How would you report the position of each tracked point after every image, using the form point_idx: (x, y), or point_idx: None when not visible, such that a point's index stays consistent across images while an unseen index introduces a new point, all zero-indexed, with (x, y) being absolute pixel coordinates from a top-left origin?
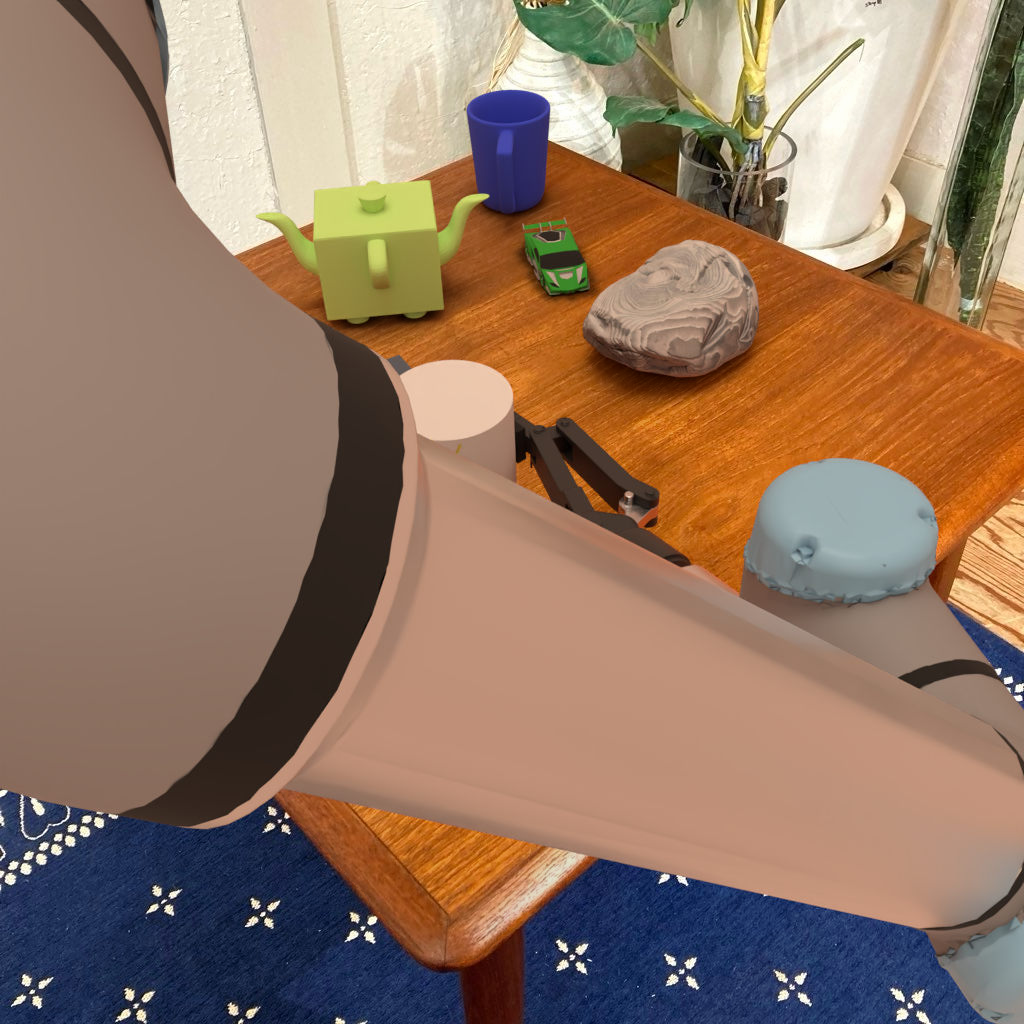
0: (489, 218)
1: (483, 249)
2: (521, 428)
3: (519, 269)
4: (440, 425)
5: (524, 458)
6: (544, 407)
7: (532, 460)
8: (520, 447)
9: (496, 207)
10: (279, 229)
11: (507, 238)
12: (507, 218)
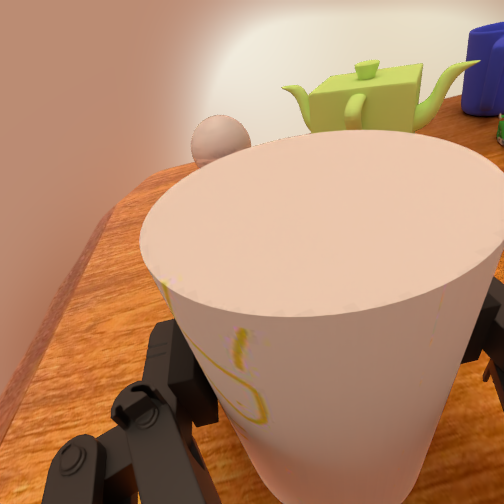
0: (466, 119)
1: (456, 135)
2: (490, 302)
3: (487, 147)
4: (229, 246)
5: (473, 359)
6: (500, 264)
7: (496, 376)
8: (472, 339)
9: (474, 111)
10: (295, 97)
11: (479, 129)
12: (482, 119)
